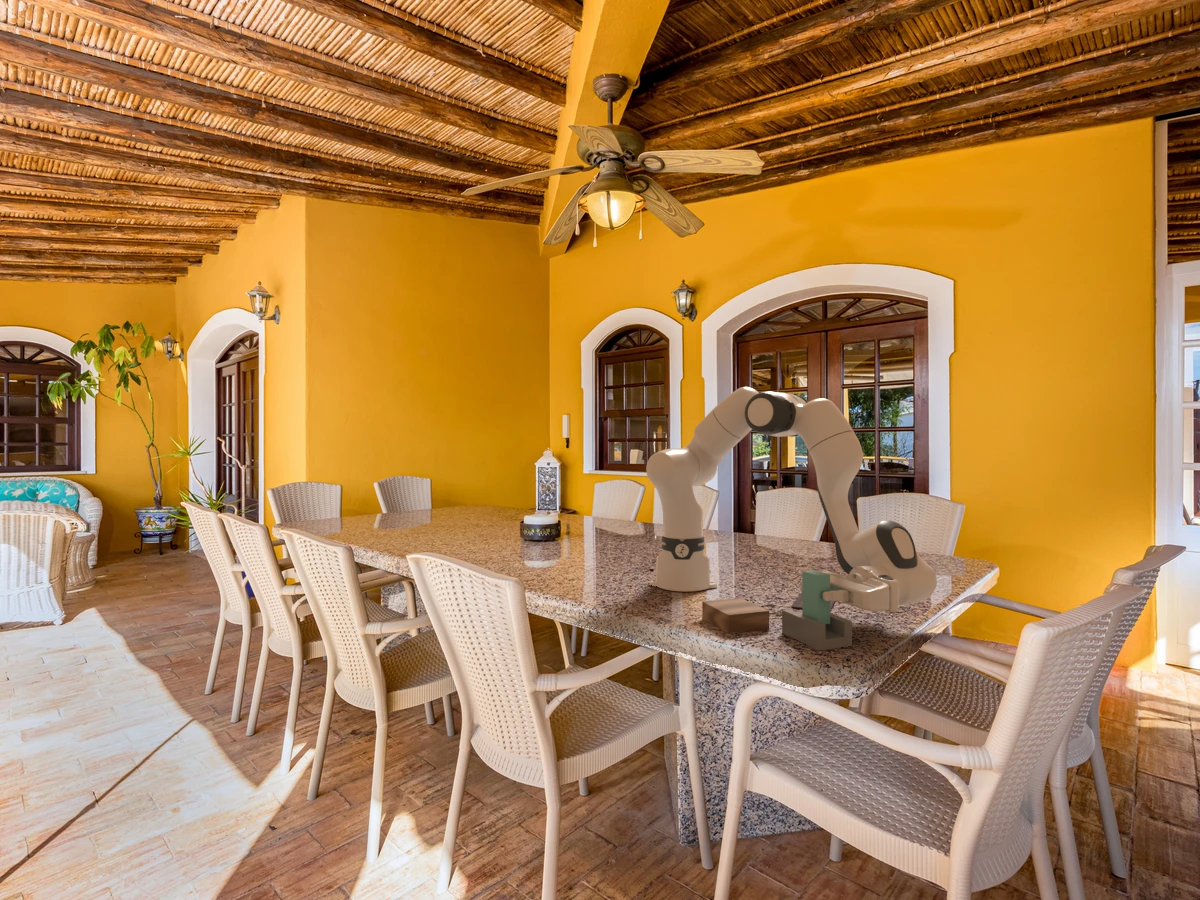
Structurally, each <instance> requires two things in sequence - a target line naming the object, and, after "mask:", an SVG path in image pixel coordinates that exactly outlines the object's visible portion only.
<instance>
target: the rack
mask: <svg viewBox="0 0 1200 900" xmlns="http://www.w3.org/2000/svg"><path fill="white" fill-rule="evenodd" d="M852 623H853V622H852V621H851V620H849V619H847V618H844V617H841V616H839V615H837V614H834V613H831V612H830V624H823V623H821V622H818V621H816V620H814V619H811V618H809V617H807V616H804V615H803V613H799V612H797V611H794V610H793V609H792V610H791V608H790V609H789V608H788V609H781V633H782V634H783V635H785V636H787V635H788V636H787V637H789V636H790V637H789V638H791V637H792V638H791V639H793V638H794V640H795V639H796V640H795V641H797V640H798V641H797V642H799V641H800V642H799V643H801V642H802V643H801V644H803V643H804V644H803V645H805V644H806V646H807V645H808V646H807V647H809V646H810V648H812V649H813V650H816V651H817V650H818V651H819V652H820V650H821V651H827V649H828V650H834V649H835V648H836V649H841V647H844V648H849V647H848V646H851V647H853V624H852Z"/></svg>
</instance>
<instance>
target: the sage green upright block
mask: <svg viewBox="0 0 1200 900" xmlns="http://www.w3.org/2000/svg"><path fill="white" fill-rule="evenodd" d="M823 572H824V571H820V570H816V569H811V570H801V573H802V574H801V575H802V576H801V579H802V582H801V583H802V592H801V593H802V615H804V616H807V617H809V618H811V619H814V620H816V621H818V622H821V623H823V624H830V613H831V612H830V601H825V600H822V599H821V598H820V596H821V595H820V592H821V591H825V590H829V591H830V574H826V573H823Z"/></svg>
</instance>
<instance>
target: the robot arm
mask: <svg viewBox="0 0 1200 900" xmlns="http://www.w3.org/2000/svg"><path fill="white" fill-rule="evenodd" d="M751 431H754V432H756V433H758V434H760V435H763V436H772V437H776V438H780V437H781V438H782V437H797V436H799V437H800V438H801V439H802V441H803V443H804V445H805V447H806V449H807V451H808V453H809V456H810V457H811V460H812V463H813V465H814V469H815V473H816V474H815V475H816V490H817V491H816V492H817V494H818V499H819V502H820V503H821V507H822V510H823V513H824V516H825V518H826V522H827V523H828V527H829V529H830V532H831V534H832V537H833V542H834V545H835V547H834V548H835V554H836V558H837V561H838V564H839V566H840V568H841V569H842V571H844V572H845V573H846V574H847V575H845V574H841V573H839V572H833V571H822V572H823V573H826V574H830V591H829V590H825V591H821V592H820V595H821V596H820V598H821V599H822V600H825V601H836V602H839V603H840V602H841V603H843V604H847V605H849V606H852V607H855V608H858V609H860V610H863V611H870V612H876V611H877V612H882V611H883V612H888V613H895V612H898V611H899V606H905V605H911V604H912V605H913V604H916V603H920V602H924V601H926V600H928V599H929V598H931V596H932V595H933V594H934V593H935V591H936V589H937V579H938V578H937V575H936V571H935V570H934V569H933V567H931V566H930V565H929V564H928V563H926V562H925V561H924V560H923V559H922V558H921V556H920V554H918V552H917V550H916V547H915V543H914V539H913V537H912V535H911V533H910V532H909V531H908V529H907V528H906V527H904V526H903V525H902V524H900V523H898V522H897V521H893V520H888V519H885V520H882V521H880V522H878V523H876V524H874V525H872V526H870V527H868V528H866V529H865V530H863V531H860V530H859V527H858V525H857V523H856V520H855V516H854V514H853V511H852V509H851V506H850V504H849V490H850V487H851V486H852V482H853V481H854V479H855V477H856V476H857V474H858V473H859V471H860V469H861V466H862V464H863V460H864V452H863V449H862V445H861V443H860V441H859V438H858V436H857V435H856V433H855V431H854V429H853V427H852V426H851V424H850V422H849V421H848V420H847V418H846V417H845V415H844V414H843V413H842V411H841V410H840V409H839V407H838V406H837V405H836V404H835V403H834V401H832V400H830V399H828V398H824V397H823V398H821V397H820V398H815V399H812V400H810V401H809V400H807V399H806V398H804V397H802V396H800V395H795V394H792V393H790V392H775V391H769V390H768V391H762V392H761V391H760V392H759V391H758V390H757V389H754V388H753V387H749V386H743V387H742V386H741V387H739V388H738V389H736V390H734V391H733V392H731V393H730V394H728V395H727V396H726V397H725V398H723V399H722V400H721V401H720V402H719V403H718V404H716V406H715V407H714V408H713V409H712V410H710V412H709V413H708V414H707V415H706V416H704V418H703V419H702V420H701V421H700V422H699V423H698V424H697V425H696V426H695V428H694V436H692V437H693V438H692V439H691V441H690V442H689V443H688V444H687V445H686V446H684V447H681V448H666V449H665V448H664V449H663V450H659V451H657V452H654V453H653V454H652V455H651V456H650V457H649V459H648V460H647V462H646V468H645V471H646V476H647V479H649V481H650V482H651V483H652V485H653V486H654V487H655V488H656V490H657V494H658V496H659V499H660V503H661V508H662V525H663V526H662V529H663V531H662V533H663V535H662V536H661V542H660V543H661V549H662V550H661V551H660V553H659V554H658V555H657V556H656V562H655V563H656V564H655V565H656V568H655V577H654V578H653V579H651V580H650V581H649V586H651V585H652V587H656V586H657V587H656V588H659V589H662V590H666V591H672V592H698V591H703V590H708V589H715V588H718V583H717V582H716V581H715V580H714V579H713V578H712V577H711V568H710V567H711V566H710V564H711V562H710V557H709V556H708V554H706V553H705V544H706V543H705V537H704V536H703V535H704V534H703V533H704V531H703V528H704V527H703V522H704V521H703V515H704V514H703V509H702V507H701V505H700V504H699V503H698V501H697V499H696V497H695V494H694V487H698V486H702V485H705V484H706V483H708V482H710V481H711V480H713V479H714V478H715V476H716V474H717V470H718V467H719V464H721V461H722V460H723V459H724V457H725V456H726V455H727V454H728V453H729V452H730V451H731V450H732V449H733V448H734V447H735V446H737V445H738V443H740V442H741V440H743V439H744V438H745V437H746V436H747V435H749V433H750V432H751ZM800 593H802V584H800Z"/></svg>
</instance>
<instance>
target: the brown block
mask: <svg viewBox="0 0 1200 900" xmlns="http://www.w3.org/2000/svg"><path fill="white" fill-rule="evenodd" d="M701 604H702V607H701V608H702V609H701V610H702V611H701V613H702V620H703V621H706V623H707V622H708V623H709V624H711V625H713V626H714V627H716V628H717V629H719V630H721V631H723V632H725V633H727V635H728V634H729V635H730V634H738V633H747V632H748V633H749V632H754V631H755V632H756V631H765V630H766V631H767V630H770V610H768V609H766V608H763V607H762V606H758V604H755V603H752V602H750V601H748V600H746V599H744V598H742V597H738V598H727V599H715V600H707V601H706V600H705V601H704V600H703V601H702V603H701Z"/></svg>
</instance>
